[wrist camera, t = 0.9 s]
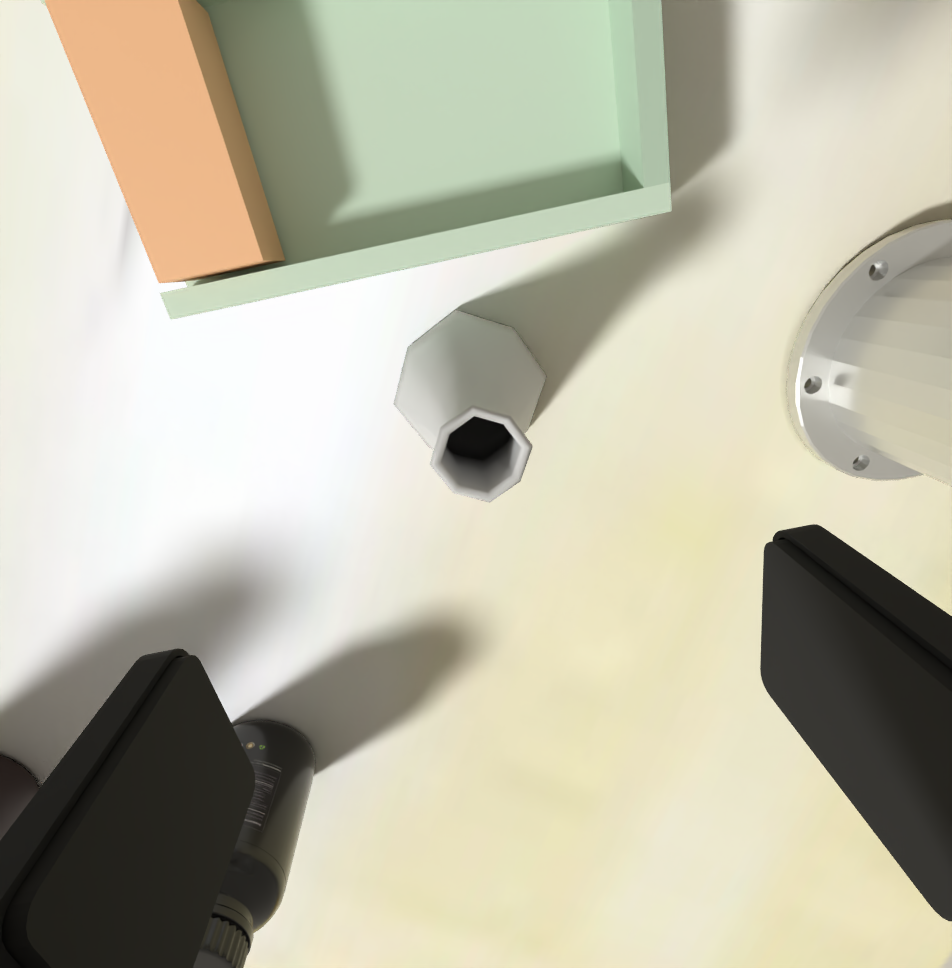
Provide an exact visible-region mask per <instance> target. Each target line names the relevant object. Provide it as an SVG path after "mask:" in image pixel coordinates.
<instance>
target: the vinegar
mask: <svg viewBox="0 0 952 968" xmlns="http://www.w3.org/2000/svg"><path fill="white" fill-rule="evenodd" d="M38 790H39V788H38V786H37V783H36V781H35V779H34V777H33V776H32V775H31V774H30V773H29V772H28V771H27V770H26V769H25V768H24V767H23V766H21V765H19V764H18V763H16V762H15V761H13V760H11V759H9V758H7V757H4V756H1V755H0V840H1V839H2V838H3V836H4V835H5V834H6V832H7V831H8V830H9V828H10V827H11V826H12V824H13V823H14V822H15V820H16V819H17V818H18V817H19V815H20V814H21V813H22V811H23V810H24V809H25V807H26V806H27V805H28V803H29V802H30V801H31V799H32V798H33V797H34V795H35V794H36V793H37V791H38Z"/></svg>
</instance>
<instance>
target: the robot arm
mask: <svg viewBox="0 0 952 968" xmlns="http://www.w3.org/2000/svg"><path fill="white" fill-rule="evenodd" d="M786 394H787V403H788V411H789V414H790V417H791V420H792V423H793V426H794V429H795V431H796V433H797V434H798V436H799V437H800V439H801V440H802V442H803V443H804V445H805V446H806V448H807V449H809V450H810V451H811V452H812V453H813V454H814V455H815V456H816V457H817V458H818V459H819V460H821V461H823V462H825V463H826V464H828V465H830V466H832V467H833V468H835V469H837V470H839V471H841V472H843V473H846V474H848V475H850V476H853V477H856V478H862V479H868V480H874V481H888V480H901V479H906V478H911V477H916V476H921V475H927V476H929V477H931V478H933V479H936V480H938V481H940V482H942V483H945V484H947V485H949V486H951V487H952V219H945V220H937V221H933V222H928V223H923V224H919V225H914V226H912V227H909V228H907V229H904V230H902V231H900V232H897V233H895V234H892V235H890V236H888V237H886V238H884V239H883V240H881V241H880V242H878V243H876V244H875V245H873V246H871V247H870V248H868V249H867V250H865V251H863V252H862V253H861V254H860V255H859V256H857V257H856V258H855V259H854V260H853V261H852V262H850V263H849V264H848V265H847V266H846V267H845V268H843V269H842V270H841V271H840V272H839V273H838V274H837V275H836V277H835V278H834V279H833V280H832V281H831V282H830V283H829V285H828V286H827V287H826V288H825V289H824V290H823V291H822V293H821V294H820V295H819V297H818V299H817V300H816V302H815V303H814V305H813V306H812V308H811V309H810V311H809V313H808V314H807V316H806V317H805V319H804V322H803V324H802V326H801V328H800V331H799V333H798V335H797V337H796V340H795V342H794V345H793V349H792V353H791V357H790V361H789V364H788V371H787V384H786ZM760 670H761V677H762V681H763V684H764V686H765V688H766V690H767V692H768V693H769V695H770V696H771V698H772V699H773V700H774V702H775V703H776V704H777V706H778V707H779V708H780V709H781V711H782V712H783V713H784V715H785V716H786V717H787V719H788V720H789V721H790V723H791V724H792V725H793V727H794V728H795V729H796V730H797V732H798V733H799V734H800V736H801V737H802V738H803V740H804V741H805V742H806V744H807V745H808V746H809V747H810V749H811V750H812V751H813V753H814V754H815V755H816V757H817V758H818V759H819V761H820V762H821V763H822V764H823V766H824V767H825V768H826V770H827V771H828V772H829V774H830V775H831V776H832V778H833V779H834V780H835V781H836V783H837V784H838V785H839V787H840V788H841V789H842V791H843V792H844V793H845V795H846V796H847V797H848V799H849V800H850V801H851V802H852V804H853V805H854V806H855V808H856V809H857V810H858V812H859V813H860V814H861V816H862V817H863V818H864V819H865V821H866V822H867V823H868V825H869V826H870V827H871V829H872V830H873V831H874V833H875V834H876V835H877V836H878V838H879V839H880V840H881V842H882V843H883V844H884V846H885V847H886V848H887V850H888V851H889V852H890V854H891V855H892V856H893V857H894V859H895V860H896V861H897V863H898V864H899V865H900V867H901V868H902V869H903V871H904V872H905V873H906V874H907V876H908V877H909V878H910V880H911V881H912V882H913V884H914V885H915V886H916V888H917V889H918V890H919V891H920V893H921V894H922V895H923V897H924V898H925V899H926V901H927V902H928V903H929V904H930V906H931V907H932V908H933V909H934V910H935V911H936V912H937V913H938V914H939V915H940V916H941V917H942V918H944V919H946V920H948V921H952V616H950V615H949V614H947V613H946V612H945V611H943V610H942V609H940V608H939V607H937V606H936V605H934V604H933V603H932V602H930V601H929V600H927V599H926V598H924V597H923V596H921V595H920V594H918V593H917V592H916V591H914V590H913V589H911V588H910V587H908V586H907V585H905V584H904V583H903V582H901V581H900V580H898V579H897V578H895V577H894V576H892V575H891V574H890V573H888V572H887V571H885V570H884V569H882V568H881V567H879V566H878V565H876V564H875V563H874V562H872V561H871V560H869V559H868V558H866V557H865V556H863V555H862V554H861V553H859V552H858V551H856V550H855V549H853V548H852V547H850V546H849V545H848V544H846V543H845V542H843V541H842V540H840V539H839V538H837V537H836V536H835V535H833V534H832V533H830V532H829V531H827V530H826V529H824V528H823V527H821V526H819V525H807V526H802V527H797V528H792V529H787V530H782V531H778V532H777V533H775V535H774V537H773V542H769V543H767V544H766V546H765V548H764V565H763V600H762V634H761V668H760ZM254 790H255V772H254V769H253V766H252V764H251V762H250V760H249V758H248V756H247V754H246V752H245V750H244V748H243V746H242V744H241V742H240V740H239V738H238V736H237V734H236V732H235V730H234V728H233V726H232V724H231V722H230V720H229V718H228V716H227V714H226V712H225V710H224V708H223V706H222V704H221V702H220V700H219V698H218V696H217V694H216V692H215V690H214V688H213V686H212V684H211V682H210V680H209V678H208V676H207V674H206V672H205V670H204V668H203V666H202V664H201V662H200V660H199V659H198V658H197V657H196V656H193V655H190V656H189V654H188V653H187V652H186V651H185V650H183V649H173V650H168V651H163V652H158V653H153V654H148V655H145V656H142V657H140V658H139V659H138V660H137V661H136V662H135V664H134V665H133V666H132V668H131V669H130V670H129V671H128V673H127V674H126V675H125V677H124V678H123V679H122V681H121V682H120V683H119V685H118V686H117V687H116V689H115V690H114V691H113V693H112V694H111V695H110V697H109V698H108V699H107V700H106V702H105V703H104V704H103V706H102V707H101V708H100V710H99V711H98V712H97V714H96V715H95V716H94V718H93V719H92V720H91V722H90V723H89V724H88V726H87V727H86V728H85V730H84V731H83V732H82V733H81V735H80V736H79V737H78V739H77V740H76V741H75V743H74V744H73V745H72V747H71V748H70V749H69V751H68V752H67V753H66V755H65V756H64V757H63V759H62V760H61V761H60V762H59V764H58V765H57V766H56V768H55V769H54V770H53V772H52V773H51V774H50V776H49V777H48V778H47V780H46V781H45V782H44V784H43V785H42V786H41V788H40V789H39V790H38V791H37V793H36V794H35V795H34V797H33V798H32V799H31V801H30V802H29V803H28V805H27V806H26V807H25V809H24V810H23V811H22V813H21V814H20V815H19V817H18V818H17V819H16V820H15V822H14V823H13V824H12V826H11V827H10V828H9V830H8V831H7V832H6V834H5V835H4V836H3V838H2V839H1V840H0V968H193V966H194V963H195V961H196V958H197V955H198V952H199V949H200V946H201V943H202V940H203V938H204V935H205V932H206V929H207V926H208V923H209V920H210V918H211V915H212V912H213V909H214V906H215V903H216V900H217V897H218V895H219V892H220V889H221V886H222V883H223V880H224V877H225V874H226V872H227V869H228V866H229V863H230V860H231V857H232V854H233V852H234V849H235V846H236V843H237V840H238V837H239V834H240V831H241V829H242V826H243V823H244V820H245V817H246V814H247V811H248V809H249V806H250V803H251V800H252V797H253V794H254Z"/></svg>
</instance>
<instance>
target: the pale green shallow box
mask: <svg viewBox="0 0 952 968" xmlns="http://www.w3.org/2000/svg"><path fill="white" fill-rule="evenodd" d="M196 1H197V2H198V3H199V4H200V5H201V6H202V7H203V8H204V9H205V10H206V11H207V12H208V14H209V17H210V20H211V24H212V27H213V30H214V33H215V36H216V40H217V43H218V46H219V49H220V52H221V56H222V59H223V62H224V65H225V68H226V72H227V75H228V78H229V81H230V84H231V87H232V91H233V94H234V97H235V100H236V103H237V107H238V110H239V113H240V116H241V119H242V123H243V126H244V129H245V132H246V135H247V139H248V142H249V145H250V148H251V151H252V155H253V158H254V161H255V164H256V167H257V171H258V174H259V177H260V180H261V183H262V187H263V190H264V193H265V196H266V199H267V203H268V206H269V209H270V212H271V215H272V219H273V222H274V225H275V228H276V231H277V235H278V238H279V241H280V244H281V247H282V251H283V254H284V257H285V260H286V261H282V262H277V263H273V264H268V265H263V266H259V267H254V268H250V269H245V270H240V271H236V272H231V273H227V274H222V275H217V276H213V277H208V278H204V279H199V280H195V281H185V282H186V285H187V288H182V289H177V290H173V291H168V292H164V293H160V294H161V297H162V299H163V302H164V304H165V307H166V309H167V312H168V314H169V317H170V319H176V318H181V317H185V316H190V315H195V314H200V313H204V312H209V311H214V310H218V309H223V308H228V307H232V306H237V305H242V304H246V303H251V302H255V301H260V300H265V299H269V298H274V297H279V296H283V295H288V294H292V293H297V292H302V291H306V290H311V289H316V288H320V287H325V286H330V285H334V284H339V283H343V282H348V281H353V280H357V279H362V278H367V277H371V276H376V275H380V274H385V273H390V272H394V271H399V270H404V269H408V268H413V267H417V266H422V265H427V264H431V263H436V262H441V261H445V260H450V259H454V258H459V257H464V256H468V255H473V254H478V253H482V252H487V251H492V250H496V249H501V248H505V247H510V246H515V245H519V244H524V243H529V242H533V241H538V240H542V239H547V238H552V237H556V236H561V235H566V234H570V233H575V232H579V231H584V230H589V229H593V228H598V227H603V226H607V225H612V224H616V223H621V222H626V221H630V220H635V219H640V218H644V217H649V216H653V215H658V214H662V213H667V212H671V211H672V209H671V188H670V168H669V147H668V126H667V106H666V85H665V65H664V44H663V23H662V3H661V0H196ZM41 2H42V4H44V5H45V6H46V3H45V1H44V0H41Z"/></svg>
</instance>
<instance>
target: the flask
mask: <svg viewBox="0 0 952 968" xmlns="http://www.w3.org/2000/svg"><path fill="white" fill-rule="evenodd" d="M546 377H547V376H546V374H545V373H544V372H543V370H542V369H541V367H540V366H539V364H538V363H537V361H536V360H535V358H534V357H533V355H532V354H531V353H530V351H529V350H528V348H527V347H526V345H525V344H524V342H523V341H522V339H521V338H520V336H519V335H518V334H517V332H516V331H515V329H514V328H512V327H509V326H506V325H503V324H499V323H496V322H493V321H490V320H487V319H483V318H480V317H477V316H474V315H471V314H467V313H464V312H461V311H458V310H455V311H453V312H452V313H451V314H450V315H448V316H447V317H446V318H444V319H443V320H442V321H441V322H439V323H438V324H437V325H436V326H434V327H433V328H432V329H430V330H429V331H428V332H427V333H425V334H424V335H423V336H421V337H420V338H419V339H418V340H416V341H415V342H414V343H413V344H411V345H410V346H409V347H408V348H407V352H406V356H405V360H404V364H403V368H402V372H401V376H400V380H399V384H398V388H397V392H396V396H395V400H394V405H395V407H396V408H397V409H398V410H399V411H400V413H401V414H402V415H403V416H404V417H405V419H406V420H407V421H408V422H409V424H410V425H411V426H412V427H413V428H414V430H415V431H416V432H417V433H418V435H419V436H420V437H421V438H422V439H423V441H424V442H425V443H426V444H427V445H428V447H429V448H431V449H434V451H433V454H432V458H431V461H430V465H431V467H432V468H433V469H434V470H435V471H436V473H437V474H438V475H439V476H440V477H441V479H442V480H443V481H444V482H445V483H446V485H447V486H448V487H449V488H450V489H451V491H452V492H453V493H455V494H459V495H463V496H467V497H471V498H474V499H478V500H482V501H486V502H491V501H492V500H494V499H495V498H497V497H498V496H500V495H501V494H503V493H504V492H505V491H507V490H508V489H510V488H511V487H513V486H514V485H516V484H517V483H519V482H520V481H521V478H522V475H523V472H524V469H525V467H526V464H527V461H528V458H529V455H530V452H531V450H532V444H531V443H530V441H529V440H528V439H527V437H526V436H525V434H524V433H525V432H526V431H527V430H528V428H529V426H530V423H531V420H532V417H533V414H534V411H535V408H536V405H537V403H538V400H539V397H540V394H541V391H542V388H543V385H544V383H545V380H546Z"/></svg>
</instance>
